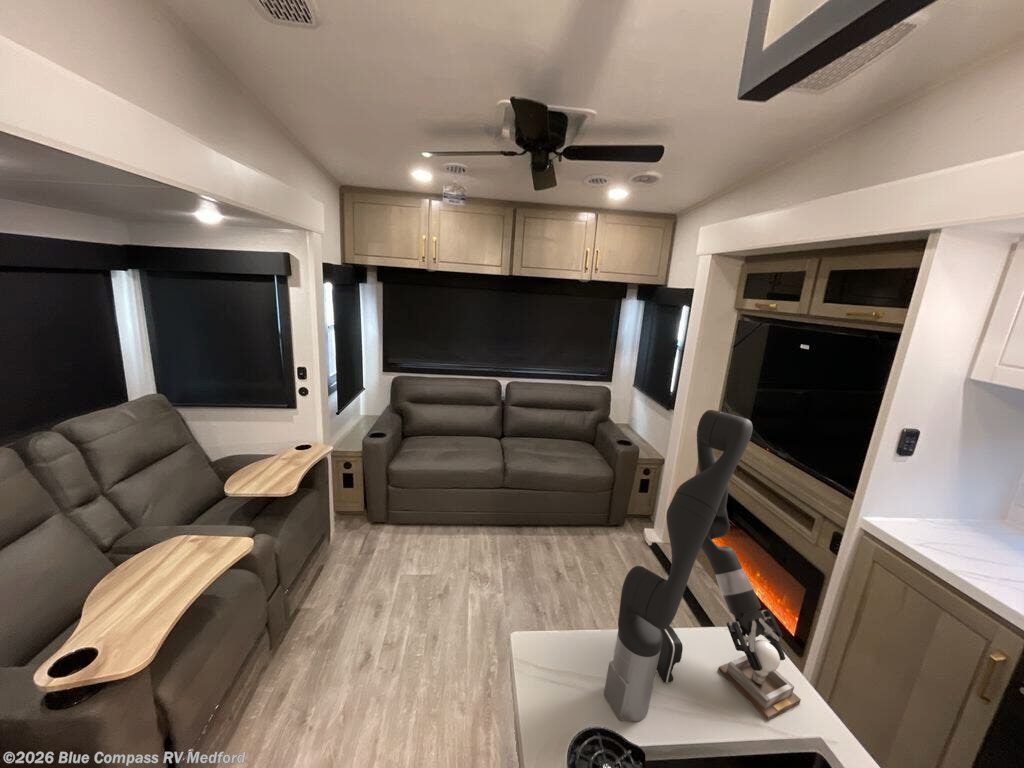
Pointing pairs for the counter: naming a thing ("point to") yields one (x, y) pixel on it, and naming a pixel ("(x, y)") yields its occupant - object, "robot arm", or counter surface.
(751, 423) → the robot arm
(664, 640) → the battery charger
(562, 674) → the counter surface
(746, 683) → the socket board
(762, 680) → the lightbulb
